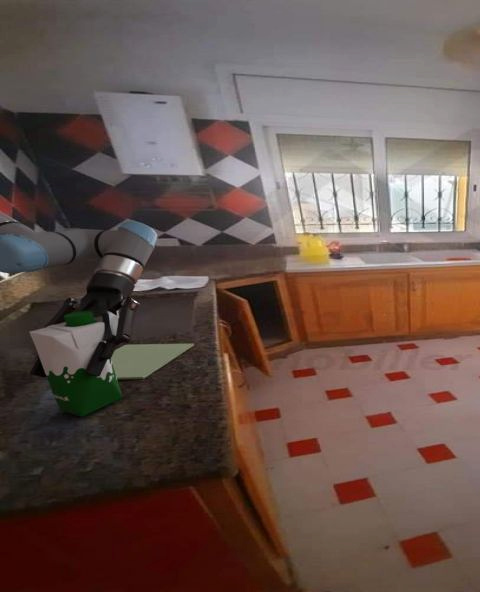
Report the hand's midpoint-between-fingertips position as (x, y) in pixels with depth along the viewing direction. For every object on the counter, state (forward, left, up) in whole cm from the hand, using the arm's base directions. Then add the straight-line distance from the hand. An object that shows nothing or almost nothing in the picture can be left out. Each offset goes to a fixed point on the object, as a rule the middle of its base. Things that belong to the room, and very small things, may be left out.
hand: (65, 375), depth 63 cm
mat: (-8, +24, -9) cm, 27 cm away
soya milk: (0, +3, -9) cm, 10 cm away
